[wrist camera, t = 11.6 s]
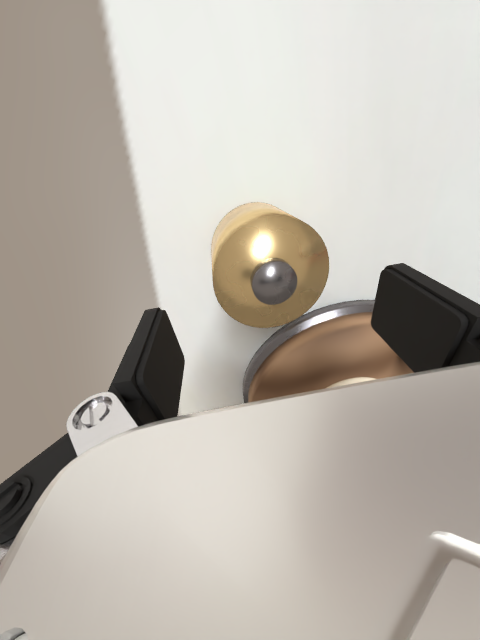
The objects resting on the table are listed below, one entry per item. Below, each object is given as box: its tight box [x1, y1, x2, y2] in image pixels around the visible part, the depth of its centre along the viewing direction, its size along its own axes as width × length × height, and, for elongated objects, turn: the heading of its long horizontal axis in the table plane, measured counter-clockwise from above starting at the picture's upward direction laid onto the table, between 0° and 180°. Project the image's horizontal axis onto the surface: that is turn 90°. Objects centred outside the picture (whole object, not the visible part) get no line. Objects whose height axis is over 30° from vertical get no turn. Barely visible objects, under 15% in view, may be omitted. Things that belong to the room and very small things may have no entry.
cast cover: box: [211, 202, 329, 328], centre depth 16 cm, size 7×7×7 cm
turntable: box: [248, 312, 414, 403], centre depth 25 cm, size 22×22×6 cm
